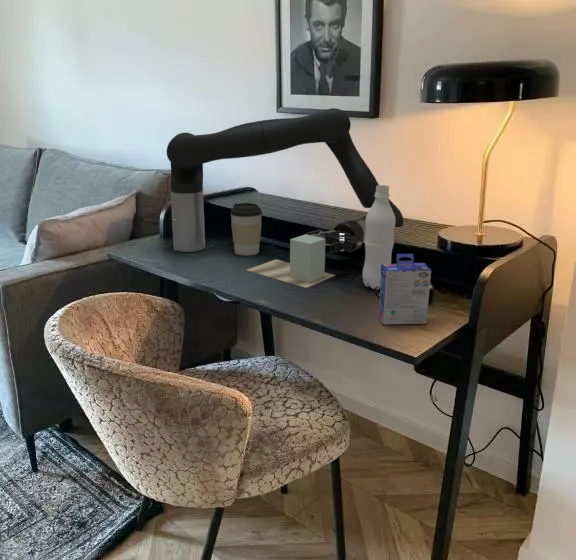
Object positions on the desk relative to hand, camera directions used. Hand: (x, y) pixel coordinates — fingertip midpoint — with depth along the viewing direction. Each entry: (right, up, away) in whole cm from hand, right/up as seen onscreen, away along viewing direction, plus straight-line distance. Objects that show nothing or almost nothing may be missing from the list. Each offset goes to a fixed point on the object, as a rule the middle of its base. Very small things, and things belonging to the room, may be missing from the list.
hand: (316, 246), depth 153 cm
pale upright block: (-2, -8, 0) cm, 8 cm away
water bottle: (+15, -10, -2) cm, 18 cm away
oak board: (-7, -8, +4) cm, 11 cm away
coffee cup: (-19, -2, +21) cm, 28 cm away
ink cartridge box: (+17, -17, -22) cm, 33 cm away
